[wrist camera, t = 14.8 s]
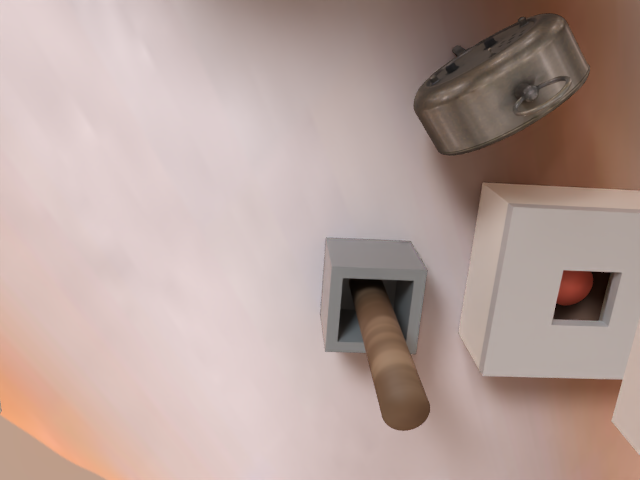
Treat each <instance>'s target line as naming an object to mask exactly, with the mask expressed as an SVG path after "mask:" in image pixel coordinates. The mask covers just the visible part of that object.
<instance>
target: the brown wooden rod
mask: <svg viewBox="0 0 640 480" xmlns="http://www.w3.org/2000/svg"><path fill="white" fill-rule="evenodd" d="M349 287H350V291H351V295H352V299H353V303H354V307H355V311H356V315H357V319H358V323H359V327H360V331H361V335H362V338H363V342H364V346H365V350H366V354H367V358H368V362H369V366H370V370H371V374H372V378H373V382H374V386H375V390H376V394H377V398H378V402H379V406H380V410H381V414H382V418H383V420H384V421H385V423H386V424H387V425H388V426H390V427H391V428H393V429H396V430H402V431H405V430H411V429H414V428H416V427H418V426H420V425H421V424H422V423H424V421H425V420H426V419H427V417H428V415H429V412H430V404H429V401H428V399H427V396H426V393H425V391H424V388H423V386H422V383H421V380H420V378H419V375H418V372H417V370H416V367H415V365H414V362H413V359H412V357H411V354H410V352H409V349H408V346H407V344H406V341H405V339H404V336H403V333H402V331H401V328H400V326H399V323H398V320H397V318H396V315H395V313H394V310H393V307H392V305H391V302H390V299H389V297H388V294H387V292H386V289H385V286H384V284H383V281H382V279H356V278H349Z"/></svg>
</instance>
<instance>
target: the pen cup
mask: <svg viewBox="0 0 640 480" xmlns="http://www.w3.org/2000/svg"><path fill="white" fill-rule="evenodd" d="M426 276H427V269H426V267H425V265H424V264H423V262H422V260H421V258H420V257H419V255H418V253H417V252H416V250H415V248H414V246H413V245H412V243H411V241H393V240H370V239H346V238H326V243H325V257H324V270H323V284H322V297H321V311H320V317H321V325H322V332H323V340H324V348H325V352H354V353H366V350H365V346H364V342H363V338H362V335H361V331H360V327H359V323H358V319H357V315H356V311H355V307H354V303H353V299H352V295H351V291H350V287H349V278H356V279H382V281H383V284H384V286H385V289H386V292H387V294H388V297H389V299H390V302H391V305H392V307H393V310H394V313H395V315H396V318H397V320H398V323H399V326H400V328H401V331H402V333H403V336H404V339H405V341H406V344H407V346H408V349H409V352H410V354H416V349H417V342H418V335H419V327H420V320H421V313H422V305H423V298H424V291H425V284H426Z"/></svg>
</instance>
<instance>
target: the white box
mask: <svg viewBox="0 0 640 480" xmlns="http://www.w3.org/2000/svg"><path fill="white" fill-rule="evenodd" d="M563 270H570V271H596V272H611V273H610V277H609V281H608V285H607V289H606V293H605V297H604V301H603V305H602V309H601V313H600V317H599V321H590V320H559V319H553V315H554V311H555V306H556V302H557V297H558V292H559V288H560V283H561V279H562V274H563ZM639 318H640V190H621V189H602V188H582V187H562V186H542V185H523V184H503V183H482V189H481V196H480V202H479V208H478V214H477V220H476V226H475V233H474V239H473V245H472V251H471V257H470V263H469V270H468V276H467V282H466V288H465V294H464V301H463V307H462V313H461V319H460V325H459V331H458V334H459V335H460V337H461V339H462V341H463V342H464V344H465V346H466V348H467V350H468V351H469V353H470V355H471V357H472V358H473V360H474V362H475V364H476V365H477V367H478V369H479V371H480V373H481V374H482V376H500V377H541V378H581V379H621V380H623V377H624V373H625V369H626V366H627V362H628V358H629V355H630V351H631V347H632V344H633V340H634V337H635V333H636V329H637V326H638V322H639Z"/></svg>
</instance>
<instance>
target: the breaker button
mask: <svg viewBox="0 0 640 480" xmlns="http://www.w3.org/2000/svg"><path fill="white" fill-rule="evenodd" d="M592 285H593V276H592V273H591V271H570V270H563V274H562V279H561V283H560V288H559V292H558V297H557V302H556V303H557V304H560V305H572V304H575V303H578V302H580V301H581V300H583V299H584V298H585V297H586V296H587V295H588V293H589V292H590V290H591V288H592Z"/></svg>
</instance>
